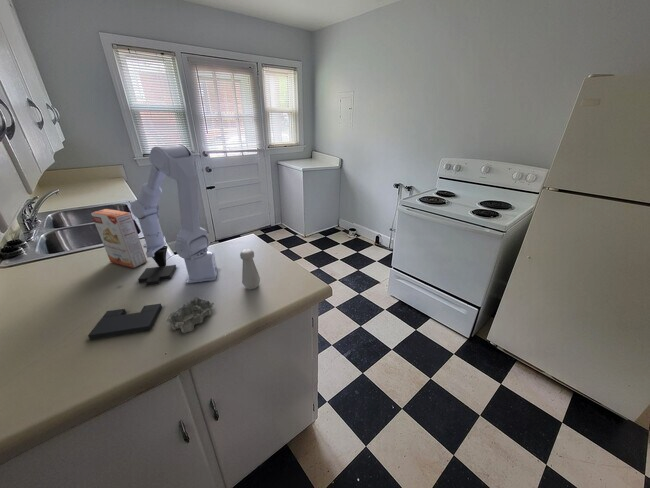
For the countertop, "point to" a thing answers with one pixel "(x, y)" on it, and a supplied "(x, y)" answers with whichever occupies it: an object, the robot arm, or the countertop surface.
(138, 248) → the cracker box
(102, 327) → the charcoal pad
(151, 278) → the black pad
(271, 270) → the countertop surface
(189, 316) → the egg carton
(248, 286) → the salt shaker
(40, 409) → the countertop surface
